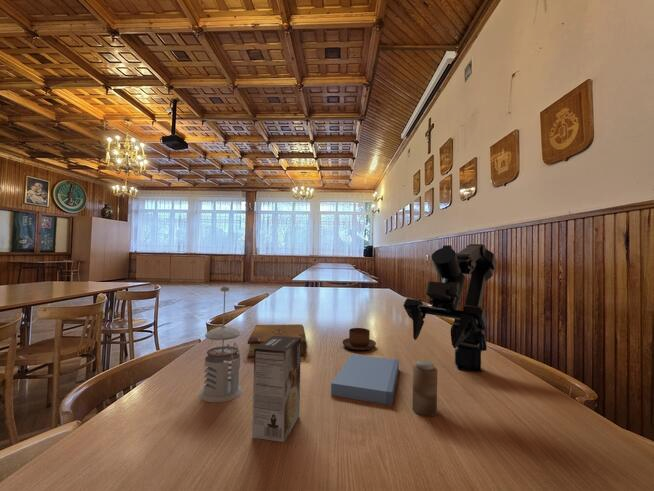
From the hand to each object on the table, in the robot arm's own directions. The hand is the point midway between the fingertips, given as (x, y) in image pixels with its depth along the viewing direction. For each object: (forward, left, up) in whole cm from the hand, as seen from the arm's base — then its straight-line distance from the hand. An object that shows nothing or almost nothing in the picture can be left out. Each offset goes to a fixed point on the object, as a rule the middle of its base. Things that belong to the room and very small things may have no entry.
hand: (433, 342), depth 69 cm
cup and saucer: (+24, -34, -14) cm, 43 cm away
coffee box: (+29, +21, -13) cm, 38 cm away
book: (+16, -6, -13) cm, 22 cm away
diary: (+51, -24, -14) cm, 58 cm away
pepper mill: (+2, +5, -13) cm, 14 cm away
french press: (+47, +13, -13) cm, 50 cm away
